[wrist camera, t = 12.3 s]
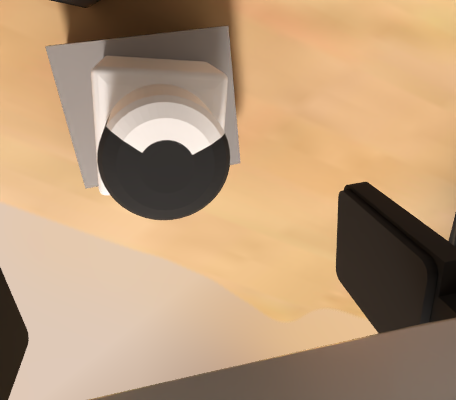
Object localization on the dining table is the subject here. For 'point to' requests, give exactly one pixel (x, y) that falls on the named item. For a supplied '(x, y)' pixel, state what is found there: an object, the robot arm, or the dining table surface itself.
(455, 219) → the diary
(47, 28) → the dining table surface
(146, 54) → the podium
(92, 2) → the tall black pillar
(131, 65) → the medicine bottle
